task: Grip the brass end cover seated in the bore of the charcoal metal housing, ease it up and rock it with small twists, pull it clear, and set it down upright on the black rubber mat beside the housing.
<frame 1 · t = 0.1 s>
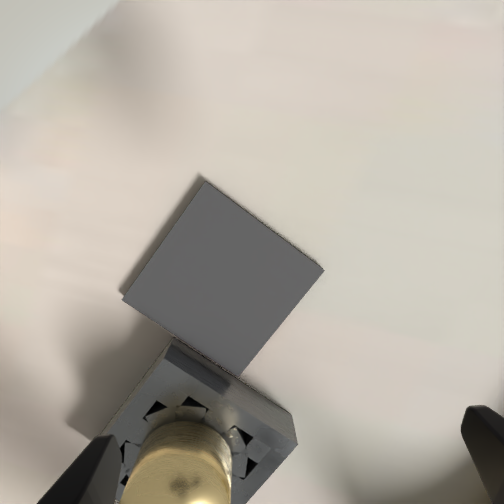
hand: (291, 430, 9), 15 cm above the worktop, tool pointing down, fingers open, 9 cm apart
mat: (223, 282, 24), on the worktop
end cover: (184, 467, 23), in the housing
housing: (192, 429, 26), on the worktop
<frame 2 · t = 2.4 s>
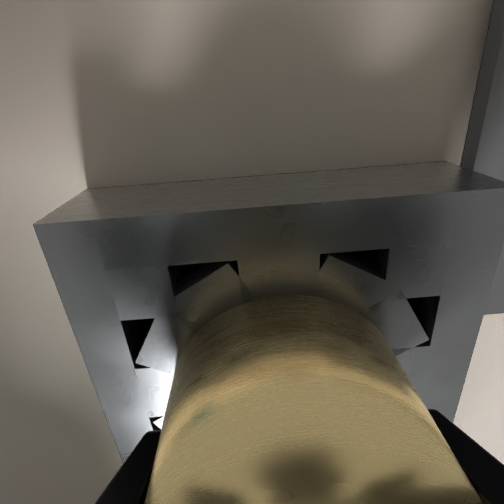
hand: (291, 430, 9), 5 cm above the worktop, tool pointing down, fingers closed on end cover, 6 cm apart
end cover: (286, 399, 9), in the housing, touching gripper
housing: (273, 320, 13), on the worktop
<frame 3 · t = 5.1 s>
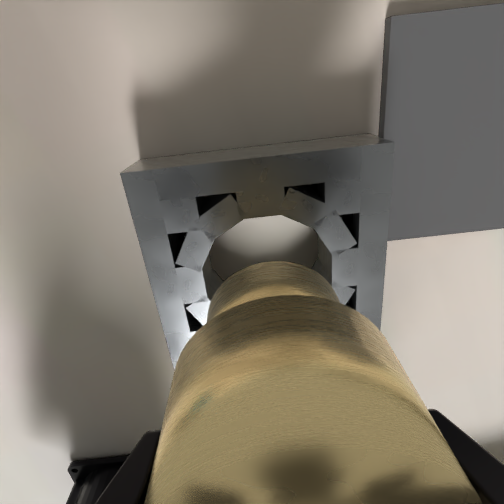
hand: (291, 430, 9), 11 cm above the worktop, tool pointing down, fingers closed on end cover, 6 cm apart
mat: (482, 131, 16), on the worktop
end cover: (286, 398, 9), point 10 cm above the worktop, touching gripper
housing: (263, 249, 18), on the worktop
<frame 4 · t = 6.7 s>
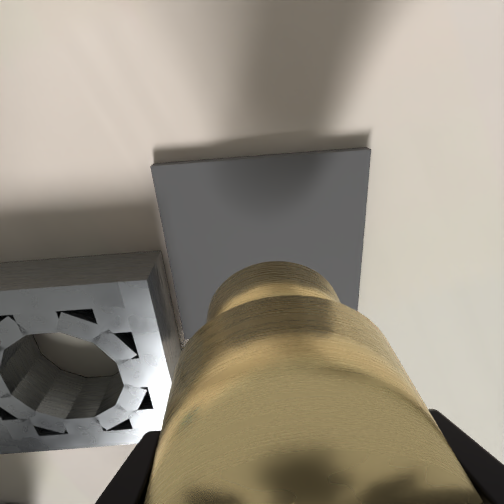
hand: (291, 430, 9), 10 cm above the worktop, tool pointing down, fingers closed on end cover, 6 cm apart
mat: (265, 251, 18), on the worktop
end cover: (286, 399, 9), point 10 cm above the worktop, touching gripper
housing: (86, 340, 20), on the worktop
when the fingers open (6 cm above the worktop, at t = 8.0 s): end cover drops 1 cm, resting on mat.
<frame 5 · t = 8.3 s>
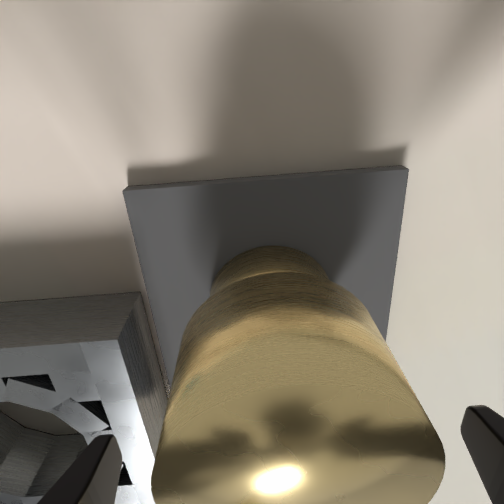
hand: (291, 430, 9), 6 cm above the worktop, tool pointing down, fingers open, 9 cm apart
mat: (270, 291, 14), on the worktop
end cover: (280, 366, 11), on the mat, point 4 cm above the worktop
housing: (53, 394, 17), on the worktop
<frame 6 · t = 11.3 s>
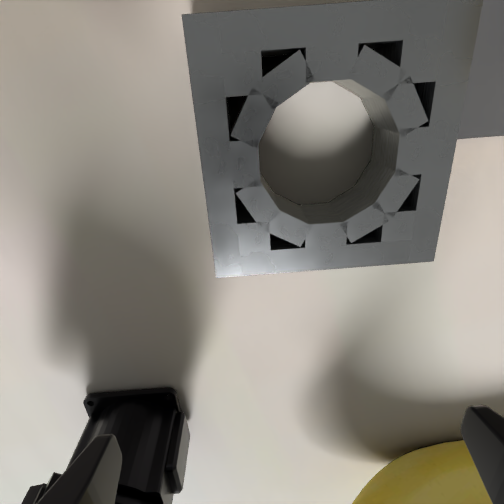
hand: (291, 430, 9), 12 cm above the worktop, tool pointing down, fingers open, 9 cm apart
housing: (314, 147, 17), on the worktop
banana: (425, 451, 29), on the worktop
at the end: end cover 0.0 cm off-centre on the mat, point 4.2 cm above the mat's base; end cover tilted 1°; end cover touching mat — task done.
